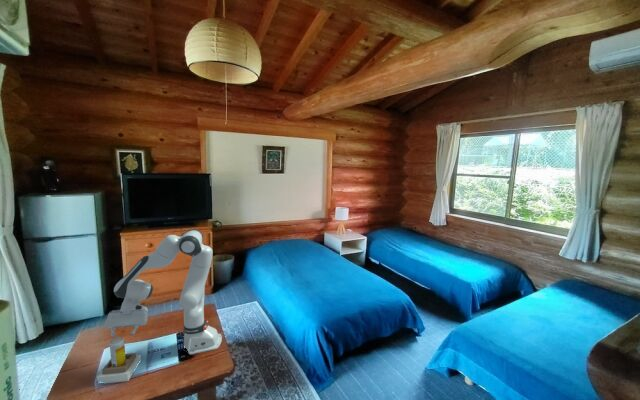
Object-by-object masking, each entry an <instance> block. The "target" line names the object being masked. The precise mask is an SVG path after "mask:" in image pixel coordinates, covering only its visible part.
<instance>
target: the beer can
mask: <svg viewBox="0 0 640 400" xmlns="http://www.w3.org/2000/svg"><path fill="white" fill-rule="evenodd" d="M125 347H126V345H125V339H124V338H123V337H121V336H117V337H115V338H114V337H113V339H111V340H110V342H109V351H110V352H109V353H110V359H111V363H112V367H122V366H124V365H125V364H126V355H125V354H126V348H125Z"/></svg>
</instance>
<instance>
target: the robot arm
mask: <svg viewBox="0 0 640 400" xmlns="http://www.w3.org/2000/svg"><path fill="white" fill-rule="evenodd" d="M203 236H204V235H203V234H202V232H201V231H200V230H199V229H195V228H192V229H189V230H188V231H185V232H184V233H182V234H181V235H180V236H178V235H176V234H169V235H167V236H166V237H164V238H163V240H161V241H160V242H159V244H158V245H157V247H156V248H155V250H154V251H152V252H151V253H150V254H148V255H144V256H143V257H141V258H140V260H138V261H137V262H136V264H135V265H134V266H133V267H131V269H130V270H129V271H128V272H127V273H126V274H125V275H124V276H123V277H122V278H121V279H119V280H118V282H117V283H116V284H115V286H114V287H113V293H114V295H115V296H116V298H121V299H123V302H121V306H120V309H117V310H115V309H114V310H111V311H109V313H108V314H107V318H106V320H105V322H104V325H103V327H104V328H105V329H107V330H108V329H110V333H111V334H110V337H111V338H114V337H115V338H116V335H117V333H116V332H115V330H116V329H120V328H131V327H133V328H134V329H132V330H131V331H130V333H129V335H130V336H134V335H135V333H136V331H137V330H138V329H139V327H141V326H145V325H147V324H148V319H149V317H148V316H149V315H148V314H149V313H148V311H149V308H148V307H146V306H145V305H141V302H142V301H145V300H148V299H149V298H150V297H151V296H152V295H153V291H154V287H153V284H152V283H149V282H146V281H144V280H142V279H136V278H137V277H138V276H139V275H140V274H141V273H142V272H144V271H146V270H151V269H163V268H166V267H168V266H170V265H172V262H173V261H174V260H175V258H176V257H177V255H178V254H179V252H181V253H182V254H184V255H188V256H190V257H192V258H191V261H190V264H189V265H190V266H189V269H188V273H187V276H186V279H185V281H184V283H183V284H184V285H183V287H182V289H181V290H182V291H181V293H180V297H179V302H178V303H179V306H180V308H181V310H183V323H184V324H183V335H184V336H183V343H184V346H185V348H186V349H187V351H188V352H187V351H186V352H187V354H189V355H195V354H200V353H206V352H210V351H215V350H217V349H218V348H219V347H221V344H222V340H223V337H222V334H221V333H218V330H217V329H216V328H215V327H214V326H210V325H209V320H205V311H204V308H205V295H206V294H205V291H206V290H205V288H206V282H207V279H208V276H209V273H210V269H211V266H212V261H213V254H214V253H213V248H212V247H210V246H208V245H204V244H203V240H204V237H203Z"/></svg>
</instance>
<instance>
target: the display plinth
mask: <svg viewBox="0 0 640 400" xmlns="http://www.w3.org/2000/svg"><path fill="white" fill-rule="evenodd" d="M125 355H126V364H125V365H124V366H122V367H112V363H111V358H110V359H109V360H108V362H107V363H106V364H105V366H104V367H103V368H102V369H101V372H100V373H99V374H98V375H97V377H96V379H97V383H98V382H99V381H101V382H105V383H104V384H111V383H112V384H113V383H120V382H121V383H122V382H129V380H130V379H131V378H132V376H133V374H134V373H133V371H134V369H135V368H136V366H137V364H138V363H139V361H140V360H141V361H142V357H141V354H137V353H136V352H133V353H131V352H130V353H125ZM136 369H137V368H136ZM134 372H135V371H134ZM132 373H133V374H132Z"/></svg>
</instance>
